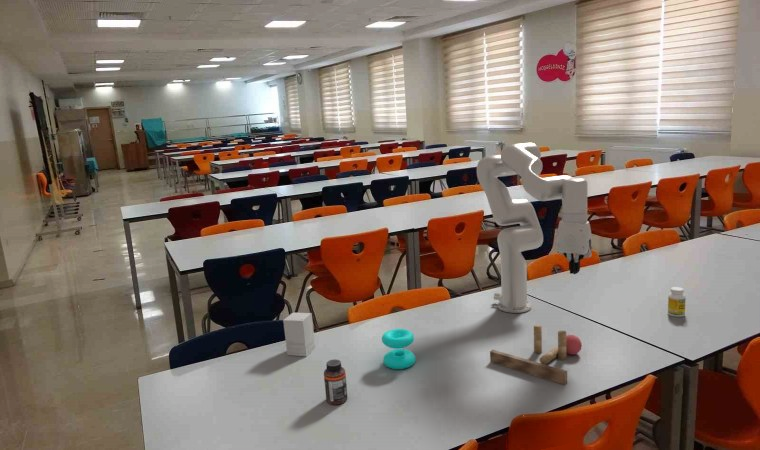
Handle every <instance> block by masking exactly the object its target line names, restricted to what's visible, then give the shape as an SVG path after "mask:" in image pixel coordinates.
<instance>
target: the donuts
mask: <svg viewBox="0 0 760 450" xmlns="http://www.w3.org/2000/svg"><path fill="white" fill-rule="evenodd" d="M414 340H415V336H414V334H413V332H412V331H410V330H409V329H405V328H393V329H390V330H387V331H385V332H384V333H383V334H382V337H381V341H382V342H381V343H382V344H383V345H385V346H386V347H387V348H391V349H392V350H390V351H387V352H386V353H385V354H384V355H383V356H384V357H383V358H382V359H383V364H384V365H385V366H386V367H388V368H389V369H393V370H405V369H408V368H411V366H413V365H414V364H415V362H416V355H415V354H414V353H413V351H411V350H408V349H405V348H407V347H409V346H411V344H413V342H414Z"/></svg>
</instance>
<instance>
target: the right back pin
mask: <svg viewBox="0 0 760 450" xmlns="http://www.w3.org/2000/svg"><path fill="white" fill-rule="evenodd" d="M566 336H567V331H566V330H558V331H557V348H558V356H557V358H558V360H560V361H566V360H567V353H566Z"/></svg>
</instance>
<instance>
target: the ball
mask: <svg viewBox="0 0 760 450" xmlns="http://www.w3.org/2000/svg"><path fill="white" fill-rule="evenodd" d="M582 347H583V346H582V341H581V339H580V338H579V337H578V336H576V335H575V334H566V355H567V354H568V355H573V356H574V355H577V354H578V353H579V352H581V349H582Z"/></svg>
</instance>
